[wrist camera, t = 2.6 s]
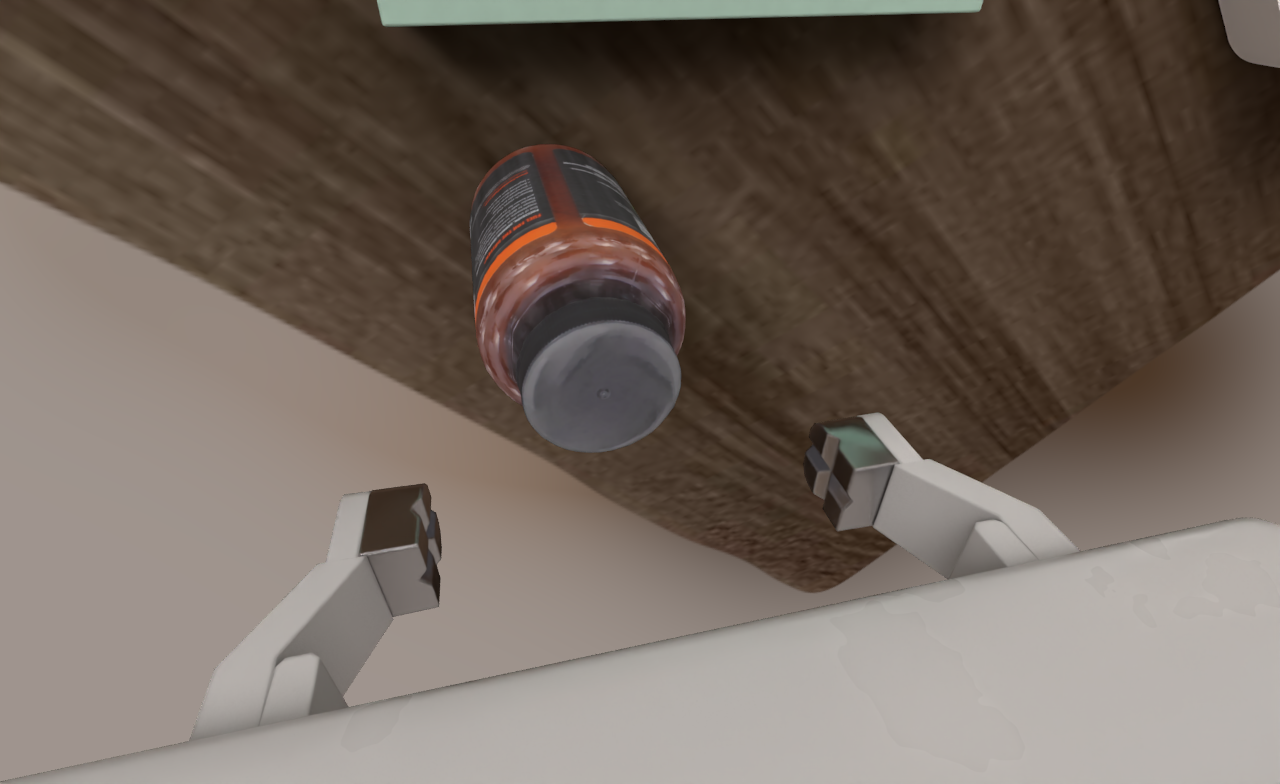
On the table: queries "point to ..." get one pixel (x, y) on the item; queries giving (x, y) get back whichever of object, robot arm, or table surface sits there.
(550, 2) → the organiser
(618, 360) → the supplement bottle
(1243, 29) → the bracket
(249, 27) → the table surface
